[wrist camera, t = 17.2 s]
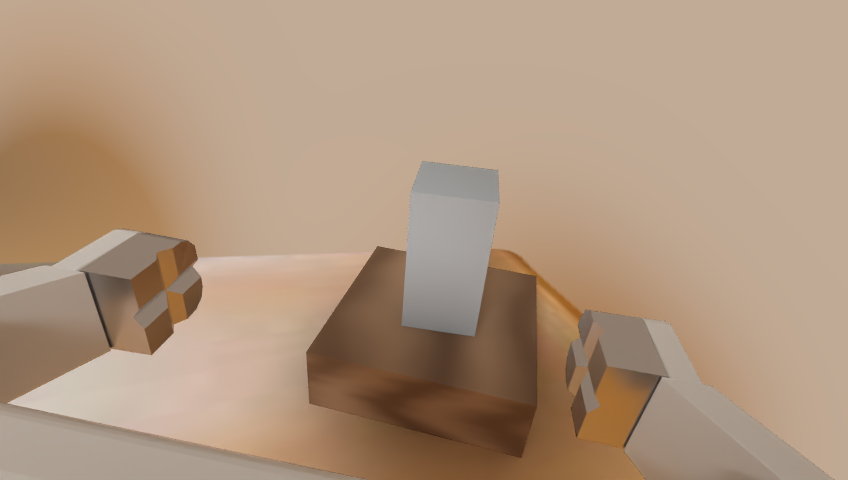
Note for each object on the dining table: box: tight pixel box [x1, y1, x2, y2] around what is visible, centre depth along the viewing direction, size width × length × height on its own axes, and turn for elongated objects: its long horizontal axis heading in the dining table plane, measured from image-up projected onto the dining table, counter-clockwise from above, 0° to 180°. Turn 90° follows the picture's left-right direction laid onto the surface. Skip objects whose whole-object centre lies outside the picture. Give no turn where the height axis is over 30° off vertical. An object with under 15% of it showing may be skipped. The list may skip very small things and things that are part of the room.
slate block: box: [402, 161, 500, 337], centre depth 29 cm, size 5×5×10 cm
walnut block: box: [306, 246, 537, 458], centre depth 33 cm, size 14×14×5 cm
